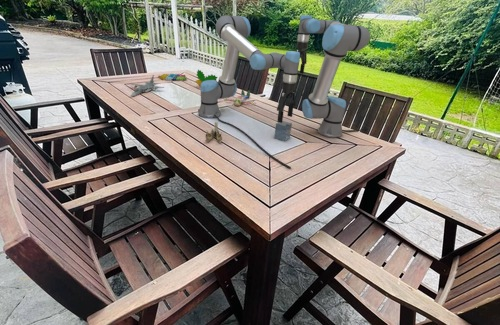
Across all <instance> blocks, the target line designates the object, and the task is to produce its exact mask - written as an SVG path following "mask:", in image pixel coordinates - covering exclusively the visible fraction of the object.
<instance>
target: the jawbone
mask: <svg viewBox="0 0 500 325" xmlns="http://www.w3.org/2000/svg"><path fill="white" fill-rule="evenodd" d="M218 125H219V124H218V121H214V128H212V129H211V130H210V133H209V131H208V130H206V134H205V142H206V143H210V141H212V140H213V139H214V138H216V140H217V142H218V143H219V144H220V143H222V139H223V136H222V133H223V131H221V132H220V131H219V129H218Z"/></svg>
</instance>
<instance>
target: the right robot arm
mask: <svg viewBox="0 0 500 325" xmlns="http://www.w3.org/2000/svg"><path fill="white" fill-rule="evenodd" d="M298 25H299V26H298V31H297V35H296V37H297V42H296V46H295V47H296V48H297V49H296V50H295V52H299V53H300V62H301V63H300V66H299V68H300V69H299V74H305V68H306V67H305V66H306V65H307V62H308V59H307V57H308V56H307V53H308V52H307V51H308V48H309V47H308V46H309V41H310V35H311V34H323V36H322V40H321V41H322V42H321V46H322V49H323V53H324V58H323V60H322V63H321V67H320V69H319V72H318V76H317V79H316V82H315V84H314V88H313V91H312V93H310V94H308V97H307V98H305V99H303V100H302V104H301V108H302V114H303V117H304V118H305V119H310V120H314V119H315V120H320V119H321V120H322V122H321V123H320V124H319V126H318V128H317V133H318V134H319V135H320V136H323V137H326V138H331V139H337V138H341V137H342V136H343V132H346V133H350V132H361V131H367V129H366V128H364V127H363V128H360V129H348V130H347V129H343V125H342V124H343V119H344V115H345V111H346V108H347V101H346V100H345V99H344V98H340V97H338V96H333V95H332V96H331V95H330V96H329V92H330V90H331V87H332V85H333V82H334V79H335V77H336V75H337V72H338V70H339V66H340V64H341V61H342V59H344V58H346V56H347V55H348V52H358V51H361V50H363V49H364V48H365V47H366V46H368V44H369V42H370V39H371V34H370V31H369V29H368V28H367V27H365V26H362V25H354V24H345V23H341V21H339V20H331V19H319V18H318V19H317V18H313V16H312V15H310V14H309V15H308V14H301V15H300V18H299V24H298Z"/></svg>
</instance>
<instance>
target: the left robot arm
mask: <svg viewBox="0 0 500 325" xmlns="http://www.w3.org/2000/svg"><path fill="white" fill-rule="evenodd" d="M215 31H216V35H217V36H218V37H219V38H220V39H221V40H222V41H224V42H227V45H226V50H225V54H224V55H225V56H224V61H223V66H222V71H221V75H219V77H218V80H217V79H216V80H206V81H203V82H202V83H201V87H200V86H199V87H200V88H199V90H200V106H199V109H198V116H199V117H201V118H205V119H214V118H216V119H217V120H218V121H219V122H221V123H222V124H227V125H229V126H231V127H233V128H234V129H236V130H238V131H240V132H241V133H243V135H245V136H246V137H247V138H248V139H249V140H251V141H252V142H253V143H254V144H255V145H256V147H258V148H259V149H260V150H261V151H263V152H264V153H265V154H266V155H268V156H269V157H270V158H272V159H273V160H275V161H276V162H278V163H279V164H280V165H283V166H284V167H286V168H288V169H291V166H290V165H288V164H286V163H285V162H282V161H281V160H279V159H278V158H277V157H275V156H274V155H272V154H270V153H269V152H268V151H267V150H266V149H264V148H263V147H262V146H261V145H260V144H259V143H258V142H256V140H254V139H253V138H252V137H251V136H250V135H249V134H248V133H246V132H245V131H244V130H242V129H241V128H239V127H237V125H236V126H235V125H234V124H232V123H230V122H226V121H224V120H221V119H220V118H219V117H221V110H220V108H219V102H218V100H220V99H221V100H222V99H226V98H227V99H229V98H233V97H234V96H235V95H236V94H237V92H238V87H237V83H236V79H235V74H236V70H237V66H238V62H239V57H240V54H241V55H242V56H243V57H244V58H246V59H247V60H248V61H249V65H250V68H251V69H252V70H255V71H262V70H269V69H271V70H272V69H280V70H283V74H282V84H281V89H282V90H283V92H280V97H279V101H278V104H277V107H276V111H278V113H277V122H276V123H278V122H280V123H282V121H284V120H283V118H284V109H285V107H286V104H287V102H288V104H289V105H288V107H287V117H291V118H292V117H293V111H294V107H296V88H297V82H298V75H299V72H298V71H299V68H300V62H301V58H300V53H299V52H296V50H288V51H286V52H285V53H280V52H270V53H264V52H262V51H261V50H260V49H259V48H258V47H257V46H255V45H254V44H253V43H252V42H250V41H249V40H248V39H247V38H248V37H249V36H250V34H251V24H250V21H249V19H248V18H247V17H245V16H241V15H229V14H226V15H221V16H220V17H219V18H218V19H217V21H216V23H215Z"/></svg>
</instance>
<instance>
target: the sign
mask: <svg viewBox="0 0 500 325" xmlns="http://www.w3.org/2000/svg"><path fill="white" fill-rule="evenodd" d="M158 78H159V80H162V81H163V80H165V81H172V82H173V81H178V82H179V81H182V82H184V81H187V77H186V74H180V73H163V74H161V75H158Z"/></svg>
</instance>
